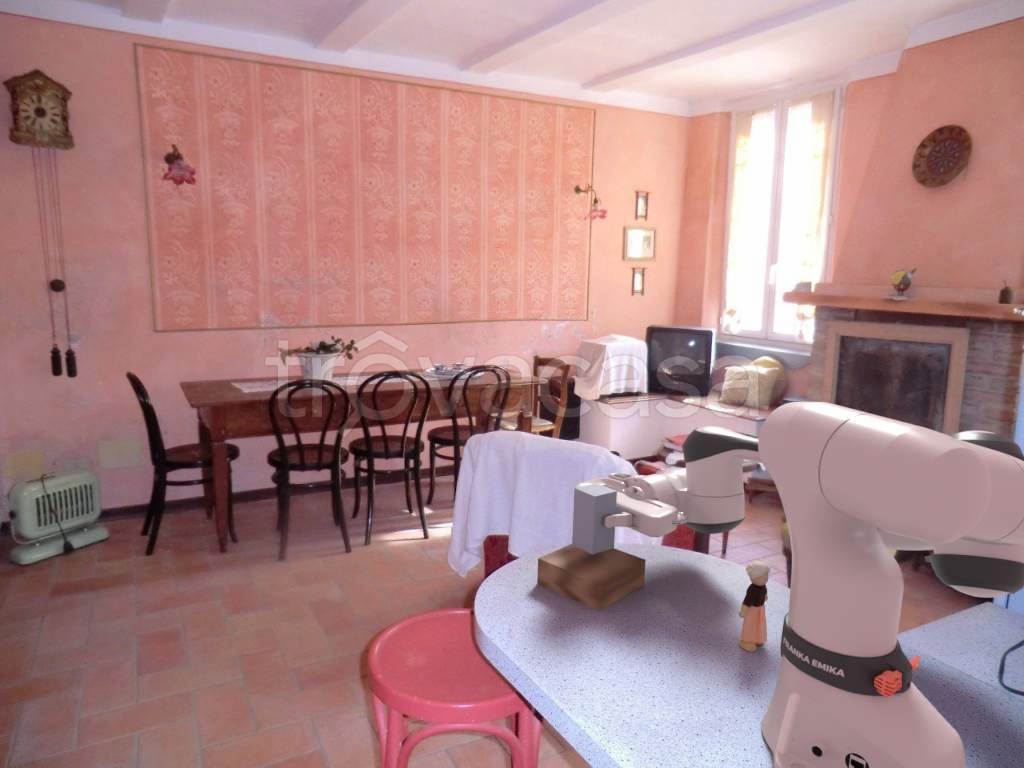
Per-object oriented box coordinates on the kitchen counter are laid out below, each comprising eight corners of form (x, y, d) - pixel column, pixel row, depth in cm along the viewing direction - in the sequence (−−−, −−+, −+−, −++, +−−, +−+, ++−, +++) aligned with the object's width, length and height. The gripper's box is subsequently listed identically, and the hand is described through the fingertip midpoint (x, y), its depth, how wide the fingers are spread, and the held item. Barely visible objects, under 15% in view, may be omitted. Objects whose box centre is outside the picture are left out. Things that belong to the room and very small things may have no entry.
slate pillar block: (613, 547, 116) (617, 491, 114) (592, 554, 113) (595, 496, 111) (593, 538, 120) (596, 483, 118) (572, 544, 117) (574, 488, 115)
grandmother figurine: (759, 658, 96) (767, 574, 94) (732, 650, 98) (739, 566, 96) (772, 635, 103) (780, 555, 101) (746, 627, 105) (753, 549, 103)
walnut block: (643, 587, 118) (645, 559, 117) (599, 613, 109) (600, 583, 108) (583, 563, 127) (584, 537, 126) (537, 585, 117) (538, 558, 117)
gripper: (692, 536, 116) (635, 555, 107) (606, 501, 132) (551, 515, 124) (694, 500, 115) (637, 516, 106) (608, 470, 131) (552, 482, 123)
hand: (590, 515), depth 115 cm, fingers closed on slate pillar block, 5 cm apart
